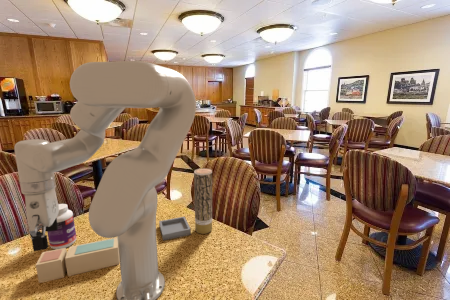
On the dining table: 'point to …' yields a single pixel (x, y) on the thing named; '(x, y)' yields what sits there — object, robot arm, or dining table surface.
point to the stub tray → (174, 228)
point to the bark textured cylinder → (203, 200)
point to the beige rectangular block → (92, 256)
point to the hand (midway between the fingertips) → (46, 239)
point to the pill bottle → (63, 229)
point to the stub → (51, 265)
